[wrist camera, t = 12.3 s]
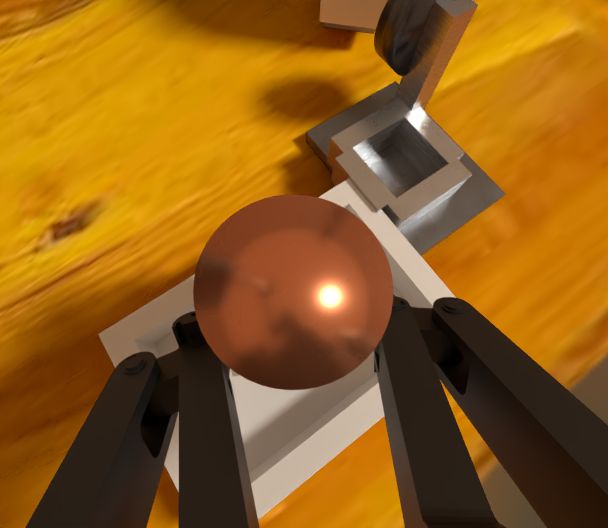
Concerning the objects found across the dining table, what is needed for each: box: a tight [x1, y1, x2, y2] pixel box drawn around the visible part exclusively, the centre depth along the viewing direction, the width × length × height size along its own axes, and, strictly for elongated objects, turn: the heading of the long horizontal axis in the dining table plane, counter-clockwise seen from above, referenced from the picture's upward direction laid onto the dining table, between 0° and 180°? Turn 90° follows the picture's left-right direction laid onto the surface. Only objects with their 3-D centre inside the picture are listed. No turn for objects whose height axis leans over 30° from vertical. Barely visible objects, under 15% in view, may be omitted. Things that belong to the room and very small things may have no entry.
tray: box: [98, 178, 456, 520], centre depth 21 cm, size 20×14×4 cm
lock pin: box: [193, 195, 393, 390], centre depth 14 cm, size 5×5×15 cm
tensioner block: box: [306, 0, 505, 256], centre depth 22 cm, size 13×14×11 cm
